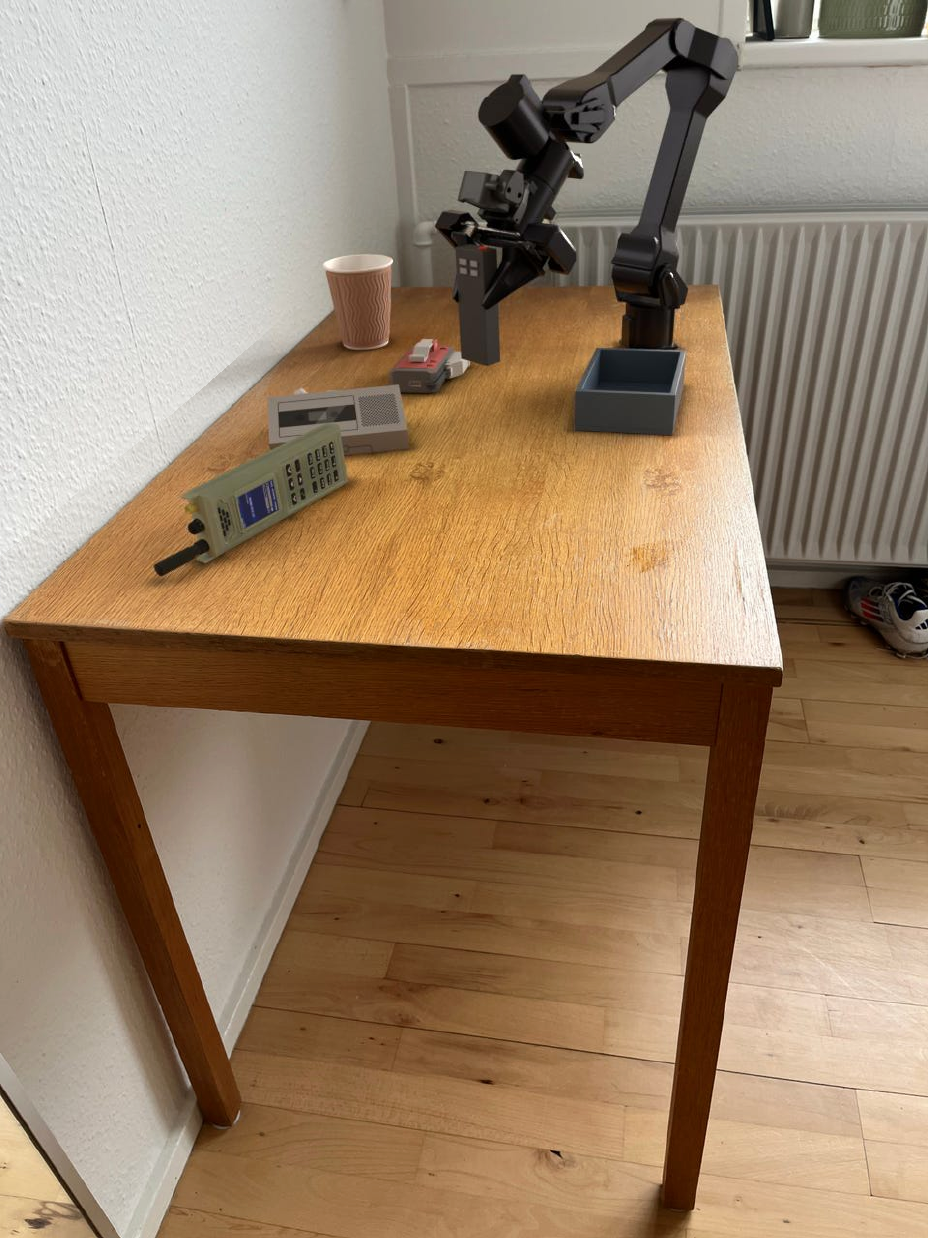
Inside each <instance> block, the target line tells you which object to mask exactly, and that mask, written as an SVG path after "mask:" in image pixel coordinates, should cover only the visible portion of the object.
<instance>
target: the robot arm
mask: <svg viewBox="0 0 928 1238" xmlns="http://www.w3.org/2000/svg"><path fill="white" fill-rule="evenodd" d="M738 66H739V55H738V51H737V50H736V48H735V47H734V44H733V42H732V41H731V39H729V38H727V37H721V36H719V35H717V34H714V33H713V32H709V31H707V30H704V29H702V28H700V27H697V26H696V25H694V24H693V23H692V22H690V21H689V20H686V19H685V18H683V17H663V18H655V19H653V20H652V21H650V22H648V23H647V25H646V26H645V28H644V30H642V31H641V32H640V33H638V35H636V36H635V37H634V38H633V39H631V40H630V41H629V42H628V43H626V44H625V45H624V46H623V47H621V48H620V49H619V50H618V51H617V52H615V53H614V54H613V55H611V56H610V57H609V58H608V59H606V61H605V62H603V63H602V64H601V65H599V66H598V67H597V68H596V69H594V70H593V71H592V72H589V73H587V74H585V75H581V76H578V77H575V78H571V79H568V80H566V81H564V82H561V83H559V84H557V85H555V86H553V87H551V88H550V89H549V90H548V91H547V92H546V93H545V94H544V96H542V99H540V97H539V96H538V94H537V93H536V92H535V90H534V88H533V85H532V82H530V79H529V78H528V76H527V75H526V74H523V73H522V74H521V73H511V74H510V76H509V78H508V79H507V82H504V83H502V84H500V85H499V86H497V87H495V89H493V90H492V91H491V92H490V93H489V94H488V95H487V96H485V97H484V98H483V99H482V101H481V103H480V105H479V107H478V112H477V118H478V121H479V123H480V124H481V125H482V127H483V128H484V129H485V131H486V132H487V133H488V134H489V137H491V138H492V140H493V141H494V142H495V144H496V145H497V147H498V148H499V149H500V150H501V152H502V153H503V155H505V157H506V158H507V159H509V160H511V161H519V162H518V164H517V165H516V168H515V170H513V169H503V170H502V172H501V173H500V175H499V174H493V173H489V172H483V171H474V170H464V172H463V176H462V179H461V183H460V188H459V192H458V196H457V202H459V203H462V204H464V203H465V204H469V205H471V206H473V207H475V208H477V209H478V211H477V213H476V214H477V216H479V218H480V219H481V220H482V221H485V222H486V224H485V226H481V225H480V223H479V222H478V221H477V220H476V218H474V216H473V215H472V214H471V213H470V212H469V211H462V210H456V209H455V210H454V209H447V210H442V212H441V213H440V215H439V217H438V219H437V220H436V222H435V224H434V228H435V230H437V232H439V234H440V235H441V236H442V237H443V238H444V239H445V240H446V241H447V242H448V243H449V244H450V246H451V247H452V248H453V249H454V250H455V248H456V247H459V246H463V245H467V244H472V245H478V246H483V247H489V248H490V247H493V248H499V249H501V260H500V263H499V264H498V265H497V270H496V272H495V274H494V276H493V278H492V281H491V283H490V285H489V287H488V289H487V291H486V293H485V295H484V298H483V300H482V303H481V305H482V307H483V308H484V309H486V310H489V309H490V308H491V307H493V306H494V305H496V304H497V303H498V304H499V303H500V302H502V301H503V300H504V299H506V298H507V297H509V296H510V295H511V294H513V293H514V292H516V291H517V290H519V289H521V288H522V287H525V285H527V284H530V282H532V281H534V280H536V279H537V278H539V277H540V278H543V277H545V275H546V270H545V269H544V267H545V265H546V264H547V265H548V270H549V272H551V273H554V274H560V275H565V276H569V275H570V273H571V272H572V270H573V268H574V266H575V264H576V262H577V248H576V247H575V246H574V245H573V243H572V242H571V241H570V239H569V238H568V236H567V235H566V234H565V232H564V231H563V230H562V228H560V226H559V225H558V224H553V223H546V222H544V221H545V220H550V221H552V220H554V218H555V216H556V214H557V211H556V210H555V209H554V207H553V204H554V202H555V201H556V200H557V197H558V196H559V194H560V191H561V190H562V188H563V186H564V184H565V183H566V181H567V179H576V180H582V179H584V177H585V173H584V172H585V171H584V167H583V164H582V154H581V153H578V152H573V150H572V149H571V148H570V146H569V145H568V143H573V144H588V145H589V144H594V143H596V142H598V141H599V140H600V139H601V138H602V136H603V135H604V134H605V133H606V132H607V130H608V129H609V128H610V127H611V126H612V124H613V123H614V121H615V120H616V116H617V109H618V107H619V106H620V105H621V104H622V103H623V102H624V101H625V100H627V99H628V98H629V97H630V96H631V95H632V94H634V93H635V92H636V91H637V90H638V89H640V88H641V87H642V86H643V85H644V84H646V83H647V82H648V81H649V80H651V78H653V77H654V76H655V75H656V74H657V73H659V72H660V71H661V72H663V73H664V74H666V76H665V77H666V78H665V82H664V88H665V92H666V98H667V101H668V106H669V110H668V111H669V112H668V116H667V120H666V123H665V127H664V130H663V134H662V138H661V141H660V145H659V148H658V152H657V155H656V159H655V161H654V167H653V170H652V173H651V177H650V180H649V184H648V188H647V192H646V194H645V199H644V202H643V206H642V208H641V209H642V210H641V212H640V217H639V220H638V224H636V226H635V227H634V228H633V229H632V230H631V231H630V233H626V232H621V233H620V235H619V236H618V238H617V243H616V248H615V253H614V255H613V257H612V259H611V261H610V264H611V265H612V267H611V273H610V276H611V280H612V283H613V288H614V289H613V290H614V293H615V299H616V302H618V303H625V311H624V313H625V314H623V315H622V317H621V336H620V337H621V339H619V340H618V344H619V345H621V346H622V347H623V348H625V349H652V350H679V344H678V343H676V342H674V333H675V332H674V331H675V318H676V317H675V316H676V314H675V313H676V310H679V309H681V306H684V305H685V303H686V300H687V297H688V292H689V287H688V286H687V285H686V282H685V281H684V279H683V278H682V277H681V275H680V274H679V272H678V271H677V270H678V264H679V259H680V253H679V249H678V244H677V239H676V235H675V231H676V228H677V224H678V220H679V216H680V214H681V210H682V208H683V207H682V206H683V204H684V203H683V202H684V199H685V196H686V193H687V189H688V185H689V182H690V179H691V177H692V176H691V175H692V172H693V168H694V165H695V161H696V158H697V154H698V151H699V147H700V144H701V140H702V137H703V135H704V130H705V127H706V124H707V121H708V119H709V117H710V116H711V115H712V114H713V113H714V112H715V110H716V109H717V108H718V107H719V106H720V105H721V104H722V103H723V101H724V100H725V99H726V97H727V95H728V92H729V90H730V88H731V85H732V83H733V80H734V77H735V76H736V75H735V74H736V72H737V70H738ZM454 279H455V280H454V285H453V290H452V291H453V292H452V300H453V301H455V303H457V304H458V287H457V272H456V273H455V278H454Z"/></svg>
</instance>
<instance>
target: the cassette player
mask: <svg viewBox="0 0 928 1238" xmlns="http://www.w3.org/2000/svg"><path fill="white" fill-rule="evenodd" d="M402 398H403V397H402V393H400V388H399V384H398V385H390V384H387V385H379V386H378V385H377V386H368V387H359V388H349V389H338V390H336V391H328V390H326V391H317V392H307V393H306V394H296V395H294V394H286V395H278V396H277V395H276V396H267V419H268V420H267V425H268V446H269V451H270V450H272V449H274V448H276V447H278V446H280V445H283V444H285V443H287V442H289V441H291V440H293V439H295V438H297V437H299V436H301V435H303V434H305V433H307V432H309V431H311V430H313V429H315V428H317V427H319V426H321V425H324V424H328V423H329V424H337V425H339V427H340V432H341V438H342V445H343V451H344V456H353V455H364V454H371V453H372V454H373V453H382V452H391V451H392V452H393V451H399V450H400V451H402V450H409V449H410V447H409V431H408V425H407V419H406V415H405V414H406V413H405V409H404V405H403V399H402Z"/></svg>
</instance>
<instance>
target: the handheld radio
mask: <svg viewBox="0 0 928 1238" xmlns="http://www.w3.org/2000/svg"><path fill="white" fill-rule="evenodd" d="M347 471H348V470H347V465H346V458H345V455H344V451H343V445H342V438H341V432H340V427H339V425H337V424H329V423H328V424H324V425H321V426H319V427H317V428H315V429H313V430H311V431H309V432H307V433H305V434H303V435H301V436H299V437H297V438H295V439H293V440H291V441H289V442H287V443H285V444H283V445H280V446H278V447H276V448H274V449H272V450H270V449H269V450H268V451H266V452H264V453H262V454H260V455H258V456H256V457H254V458H252V459H249V460H248V461H246V462H244V463H242V464H239V465H237V466H236V467H233V468H232V469H229V470H227V471H225V472H223V473H221V474H219V475H217V476H214V477H213V478H211V479H209V480H207V481H205V482H203V483H201V484H199V485H197V486H195V487H193V488H191V489H189V490H188V491H187V492H185V493H183V494H182V495H180V496H179V497H180V498H181V499H183V500H187V501H188V503H187V504H185V506H184V511H185V512H184V513H186V514H188V515H191V516H192V521H190V522H189V523H187V531H188V533H190V535H197V539H198V540H197V541H194V543H193V544H192V545H190V546H187V547H185V548H183V549H181V550H179V551H177V552H175V553H173V554H172V555H170V556H167V557H166V558H164V559H161V560H159V561H158V562H156V563H154V564H153V569H154V572H155V573H156V575H158V576H159V577H164V576H166V575H167V574H169V573H171V572H173V571H174V570H176V569H179V568H180V567H182V566H185V564H187V563H189V562H191V561H193V560H194V559H196V561H198V562H201V563H203V564H206V563H209V562H210V561H212V560H214V559H216V558H218V557H220V556H221V555H223V554H225V553H227V552H229V551H230V550H232V549H234V548H236V547H238V546H239V545H241V544H243V543H244V542H245V543H246V542H247V541H248V540H250V539H252V538H253V537H255V536H257V535H259V534H261V533H263V532H264V531H265V530H268V529H270V528H271V527H273V526H275V525H276V524H278V523H280V522H282V521H283V520H285V519H287V518H289V517H291V516H292V515H295V514H296V513H298V512H299V511H302V509H304V508H307V507H308V506H310V505H311V504H314V503H316V502H317V501H319V500H321V499H323V498H324V497H326V496H328V495H329V494H331V493H333V492H334V491H336V490H339V489H340V488H342V487H343V486H345V485H347V484H348V483H349V479H348V472H347ZM197 556H198V557H197Z"/></svg>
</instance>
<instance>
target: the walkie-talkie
mask: <svg viewBox="0 0 928 1238" xmlns="http://www.w3.org/2000/svg"><path fill="white" fill-rule="evenodd" d="M470 365H471V361H468V360H464V359H462V358H461V351H456V350H455V348H453V347H452V346H449V345H439V342H438V339H437V338H421V339H419V341H418V342H417V343H416V344H415V345H414V346H412V347H410V348H408V350H407V351H406V352H405V353H404V354H403V356H402V357H401V358H400V359H399V360H398V361H397V362H396V364H395V365H394V366H393V367H392V369H390V371H389V372H388V373H389V385H398V384H399V388H400V393H401V394H402V393H403V394H429V395H430V394H435V393H437V392H438V391H439V389H441V387H442V385H443V384H444V383H445V381H446V380H447V379H448V380H449V379H453V378H456V377H459V376H462V375H463V374H464V373H465V371H466V370H467V369H468V368H469V367H470Z"/></svg>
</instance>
